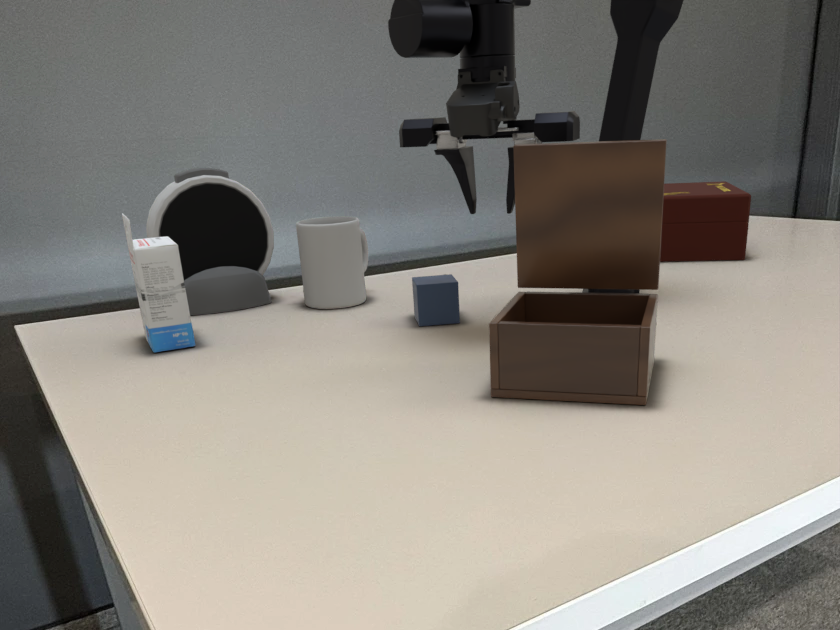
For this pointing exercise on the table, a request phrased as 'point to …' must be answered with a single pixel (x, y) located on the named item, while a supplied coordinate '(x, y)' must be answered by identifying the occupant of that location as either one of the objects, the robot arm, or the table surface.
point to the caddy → (574, 347)
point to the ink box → (160, 291)
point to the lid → (589, 214)
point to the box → (704, 222)
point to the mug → (332, 261)
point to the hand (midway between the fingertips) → (491, 213)
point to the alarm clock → (216, 239)
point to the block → (436, 300)
